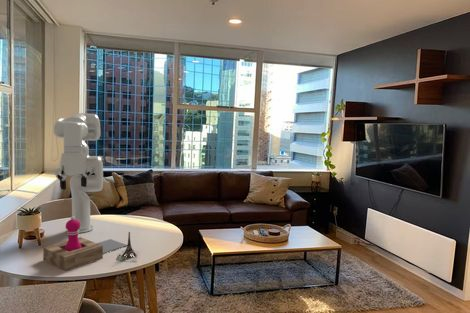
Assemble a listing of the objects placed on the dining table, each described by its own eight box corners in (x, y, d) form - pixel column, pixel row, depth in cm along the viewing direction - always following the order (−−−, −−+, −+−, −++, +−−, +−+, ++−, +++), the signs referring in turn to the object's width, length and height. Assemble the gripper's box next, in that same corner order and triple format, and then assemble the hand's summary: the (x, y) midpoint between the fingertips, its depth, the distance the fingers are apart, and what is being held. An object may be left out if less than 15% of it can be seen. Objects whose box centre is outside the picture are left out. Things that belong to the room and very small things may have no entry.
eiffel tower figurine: (119, 251, 173) (119, 225, 171) (140, 251, 174) (140, 224, 173) (114, 264, 158) (114, 235, 157) (137, 263, 160) (137, 234, 158)
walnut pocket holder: (43, 260, 158) (43, 247, 158) (80, 248, 173) (80, 237, 172) (65, 270, 148) (64, 257, 147) (102, 258, 163) (102, 245, 162)
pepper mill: (65, 257, 162) (64, 215, 160) (82, 255, 165) (81, 213, 163) (64, 263, 156) (63, 219, 154) (82, 261, 159) (81, 217, 157)
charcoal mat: (86, 247, 175) (86, 246, 175) (110, 239, 187) (110, 239, 187) (103, 254, 167) (103, 253, 167) (127, 246, 179) (127, 245, 179)
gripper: (86, 148, 166) (86, 184, 167) (49, 150, 151) (50, 189, 153) (95, 149, 161) (95, 186, 163) (58, 151, 147) (59, 191, 149)
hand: (73, 187), depth 158 cm, fingers open, 9 cm apart
